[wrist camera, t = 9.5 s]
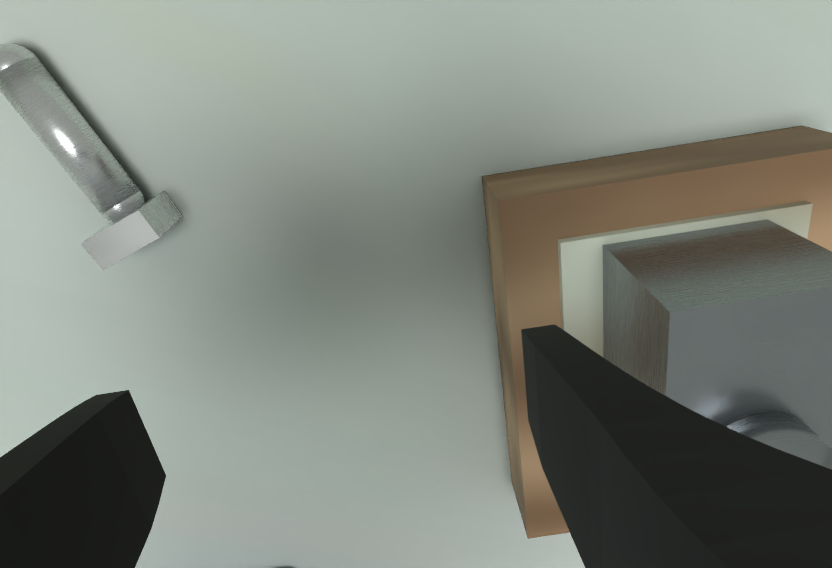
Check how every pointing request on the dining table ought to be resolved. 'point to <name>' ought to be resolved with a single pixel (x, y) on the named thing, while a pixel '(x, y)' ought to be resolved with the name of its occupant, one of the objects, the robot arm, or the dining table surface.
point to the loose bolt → (84, 159)
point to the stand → (618, 222)
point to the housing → (729, 328)
